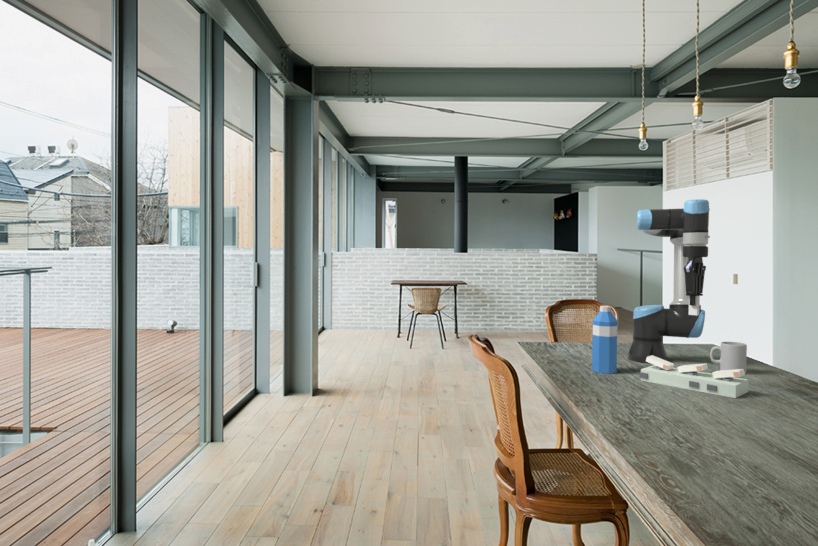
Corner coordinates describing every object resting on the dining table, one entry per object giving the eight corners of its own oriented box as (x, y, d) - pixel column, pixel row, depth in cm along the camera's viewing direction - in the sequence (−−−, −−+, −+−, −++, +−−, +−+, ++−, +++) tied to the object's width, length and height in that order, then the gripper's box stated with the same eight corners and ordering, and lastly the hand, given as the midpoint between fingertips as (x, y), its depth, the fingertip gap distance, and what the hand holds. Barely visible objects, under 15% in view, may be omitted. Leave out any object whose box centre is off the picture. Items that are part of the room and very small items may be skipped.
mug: (744, 370, 201) (745, 342, 200) (747, 375, 193) (748, 346, 193) (708, 367, 206) (709, 340, 206) (710, 372, 199) (711, 343, 198)
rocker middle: (678, 372, 179) (677, 367, 179) (683, 370, 182) (682, 365, 182) (702, 370, 173) (701, 365, 173) (708, 368, 176) (706, 363, 176)
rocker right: (713, 378, 170) (712, 372, 171) (718, 376, 173) (717, 370, 173) (740, 376, 164) (738, 370, 165) (745, 374, 167) (743, 368, 168)
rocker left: (645, 361, 187) (646, 356, 187) (651, 359, 190) (652, 355, 190) (667, 370, 181) (668, 365, 181) (672, 368, 184) (674, 363, 184)
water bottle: (621, 373, 195) (622, 307, 194) (596, 373, 195) (597, 307, 194) (612, 368, 204) (613, 305, 203) (588, 368, 204) (589, 305, 204)
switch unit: (639, 380, 185) (639, 367, 185) (655, 375, 193) (655, 362, 193) (735, 398, 162) (735, 383, 162) (748, 391, 170) (748, 377, 170)
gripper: (699, 245, 168) (697, 317, 169) (715, 245, 177) (713, 314, 178) (675, 245, 174) (674, 315, 175) (691, 245, 183) (690, 312, 184)
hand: (693, 314), depth 177 cm, fingers closed
